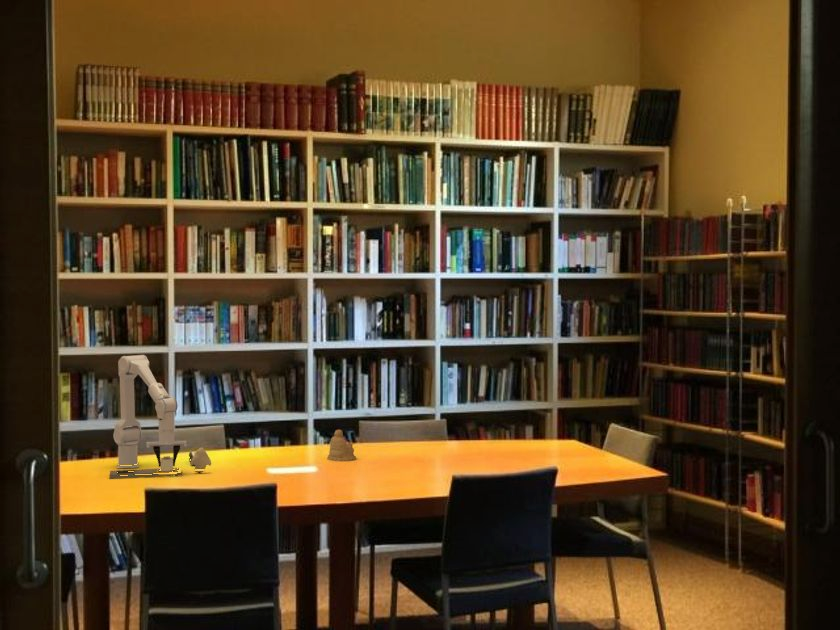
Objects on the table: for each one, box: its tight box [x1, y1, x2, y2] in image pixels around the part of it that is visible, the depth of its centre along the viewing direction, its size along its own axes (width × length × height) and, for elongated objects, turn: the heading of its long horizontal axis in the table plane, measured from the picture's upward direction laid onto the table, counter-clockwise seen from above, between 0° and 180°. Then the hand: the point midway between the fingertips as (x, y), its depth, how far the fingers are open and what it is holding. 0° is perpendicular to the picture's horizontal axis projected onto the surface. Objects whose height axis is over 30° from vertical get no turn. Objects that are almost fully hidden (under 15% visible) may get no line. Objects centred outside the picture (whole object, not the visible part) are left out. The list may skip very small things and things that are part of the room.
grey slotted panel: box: [109, 467, 183, 480], centre depth 399 cm, size 8×26×2 cm, turn 104°
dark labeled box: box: [188, 451, 197, 466], centre depth 423 cm, size 14×25×4 cm, turn 16°
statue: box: [327, 429, 357, 463], centre depth 435 cm, size 12×14×10 cm
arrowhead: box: [189, 447, 212, 473], centre depth 404 cm, size 8×3×10 cm, turn 104°
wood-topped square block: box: [160, 455, 174, 472], centre depth 401 cm, size 4×4×6 cm
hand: (166, 466), depth 401 cm, fingers closed on wood-topped square block, 4 cm apart
